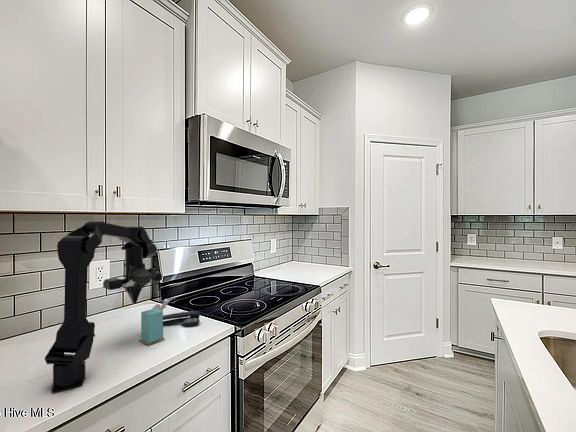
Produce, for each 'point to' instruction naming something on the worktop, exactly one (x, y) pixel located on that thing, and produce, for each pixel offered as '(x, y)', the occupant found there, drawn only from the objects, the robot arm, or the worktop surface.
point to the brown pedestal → (150, 343)
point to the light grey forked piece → (162, 305)
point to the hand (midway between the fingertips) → (134, 303)
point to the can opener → (185, 322)
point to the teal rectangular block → (151, 325)
